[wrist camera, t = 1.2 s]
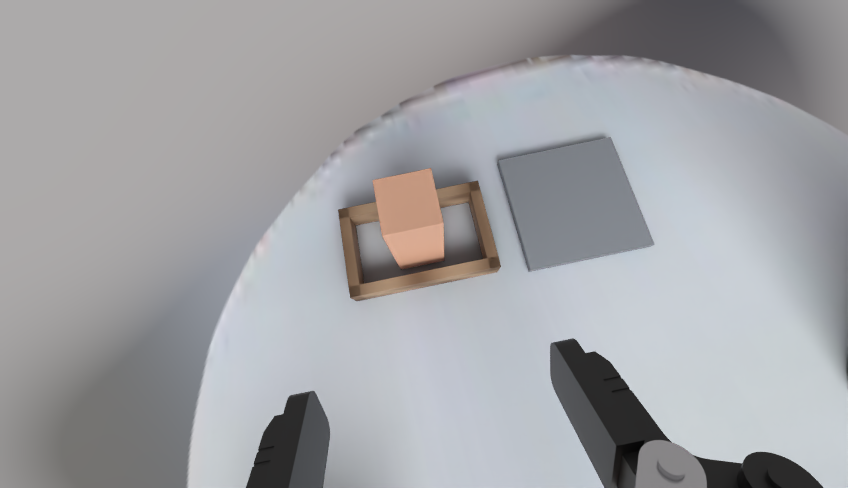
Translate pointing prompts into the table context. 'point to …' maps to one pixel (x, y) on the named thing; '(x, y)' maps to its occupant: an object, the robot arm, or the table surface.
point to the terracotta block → (411, 218)
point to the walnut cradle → (426, 278)
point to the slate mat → (573, 204)
